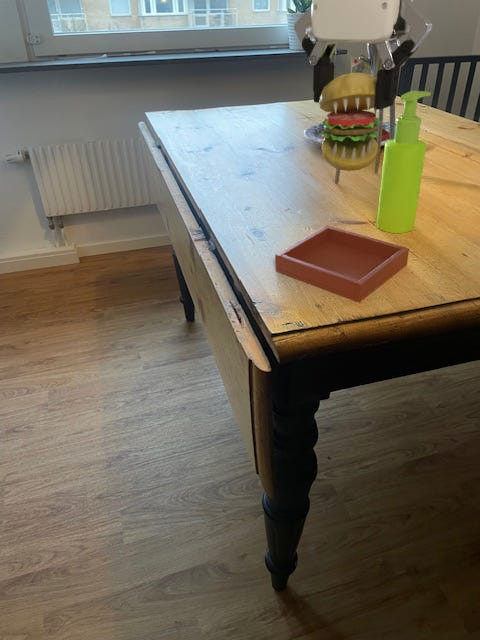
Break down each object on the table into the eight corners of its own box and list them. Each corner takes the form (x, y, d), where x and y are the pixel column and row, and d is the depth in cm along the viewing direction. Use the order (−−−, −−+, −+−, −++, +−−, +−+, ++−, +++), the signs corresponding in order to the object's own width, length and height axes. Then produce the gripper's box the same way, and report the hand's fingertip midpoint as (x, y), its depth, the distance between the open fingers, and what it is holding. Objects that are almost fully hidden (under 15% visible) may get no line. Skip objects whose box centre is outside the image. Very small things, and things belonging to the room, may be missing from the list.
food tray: (407, 265, 70) (409, 248, 69) (359, 302, 63) (361, 284, 61) (326, 240, 78) (326, 225, 77) (275, 271, 71) (275, 254, 69)
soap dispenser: (423, 222, 82) (445, 90, 71) (402, 236, 78) (421, 98, 67) (391, 214, 86) (407, 87, 74) (369, 227, 82) (382, 95, 71)
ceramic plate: (343, 123, 140) (344, 112, 139) (429, 136, 125) (431, 124, 123) (282, 144, 126) (282, 131, 124) (370, 162, 110) (371, 148, 109)
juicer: (390, 191, 95) (412, 4, 78) (334, 183, 100) (344, 6, 83) (403, 175, 102) (427, 1, 85) (351, 169, 107) (363, 3, 90)
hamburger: (321, 176, 60) (325, 63, 53) (313, 158, 66) (316, 56, 59) (386, 172, 59) (398, 59, 53) (372, 155, 65) (381, 52, 59)
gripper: (471, -101, 46) (438, 105, 56) (314, -79, 56) (310, 92, 66) (434, -107, 41) (406, 118, 51) (272, -81, 52) (274, 102, 61)
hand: (352, 102), depth 58 cm, fingers closed on hamburger, 7 cm apart
